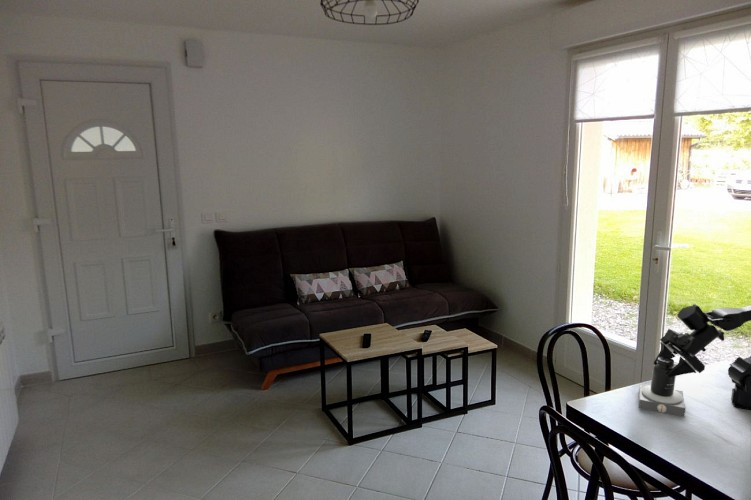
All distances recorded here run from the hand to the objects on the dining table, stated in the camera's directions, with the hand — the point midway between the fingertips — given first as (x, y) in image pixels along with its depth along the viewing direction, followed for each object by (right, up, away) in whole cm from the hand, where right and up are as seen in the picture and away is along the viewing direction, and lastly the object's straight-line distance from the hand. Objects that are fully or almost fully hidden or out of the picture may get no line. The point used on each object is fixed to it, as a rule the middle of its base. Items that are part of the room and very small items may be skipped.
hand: (661, 370), depth 173 cm
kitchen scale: (+1, -12, +2) cm, 12 cm away
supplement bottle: (+1, -8, +2) cm, 9 cm away
